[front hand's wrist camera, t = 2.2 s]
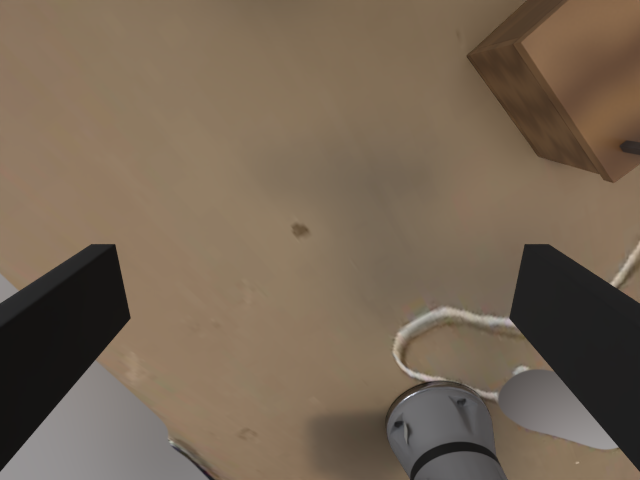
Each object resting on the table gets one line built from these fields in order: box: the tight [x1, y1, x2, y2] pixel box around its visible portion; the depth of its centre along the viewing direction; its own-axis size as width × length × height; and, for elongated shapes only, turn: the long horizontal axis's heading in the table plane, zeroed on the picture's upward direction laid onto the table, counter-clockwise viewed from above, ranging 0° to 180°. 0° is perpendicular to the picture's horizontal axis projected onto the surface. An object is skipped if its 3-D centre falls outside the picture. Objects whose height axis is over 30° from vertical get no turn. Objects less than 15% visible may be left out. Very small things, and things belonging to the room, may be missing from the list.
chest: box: [467, 0, 599, 174], centre depth 35 cm, size 14×10×10 cm
